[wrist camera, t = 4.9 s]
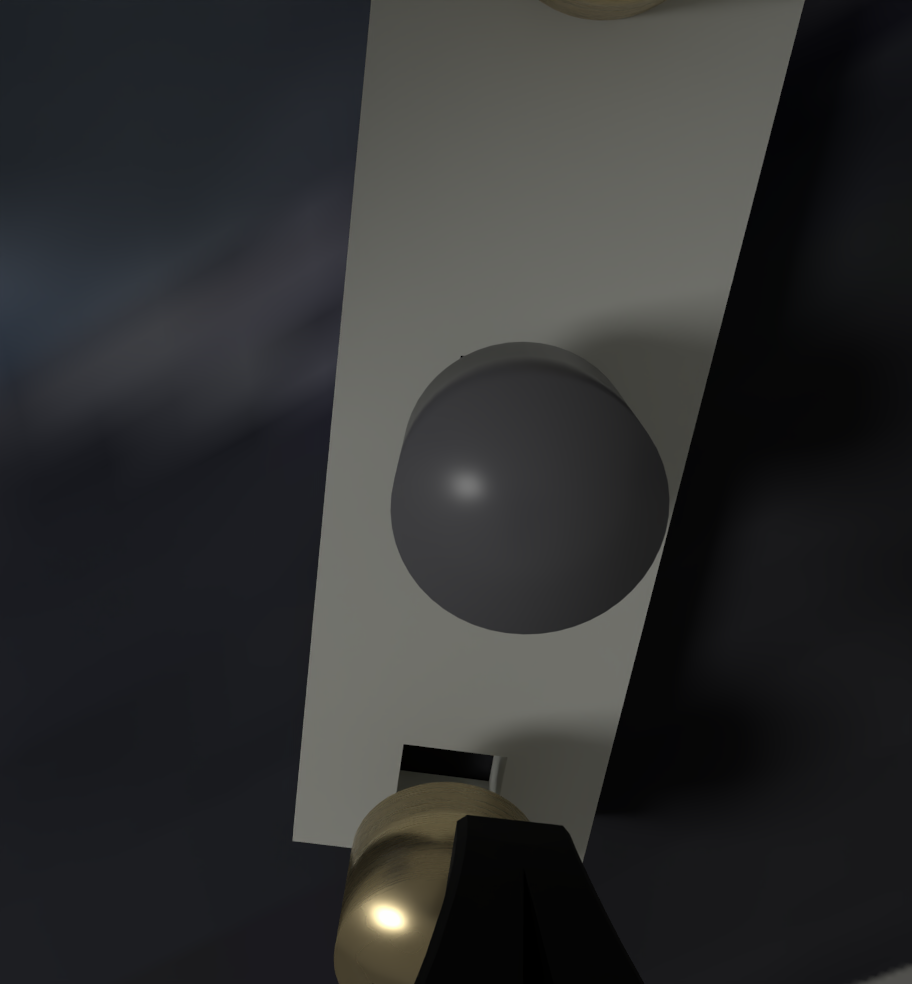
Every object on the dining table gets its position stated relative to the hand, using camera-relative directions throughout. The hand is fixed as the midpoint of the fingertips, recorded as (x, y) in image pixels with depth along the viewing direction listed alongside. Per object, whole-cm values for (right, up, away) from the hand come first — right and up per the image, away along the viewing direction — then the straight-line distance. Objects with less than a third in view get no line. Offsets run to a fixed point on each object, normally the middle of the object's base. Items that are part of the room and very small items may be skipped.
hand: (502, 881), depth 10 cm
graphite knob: (+1, +6, +5) cm, 8 cm away
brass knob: (-1, -2, +8) cm, 9 cm away
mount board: (+1, +7, +8) cm, 10 cm away
